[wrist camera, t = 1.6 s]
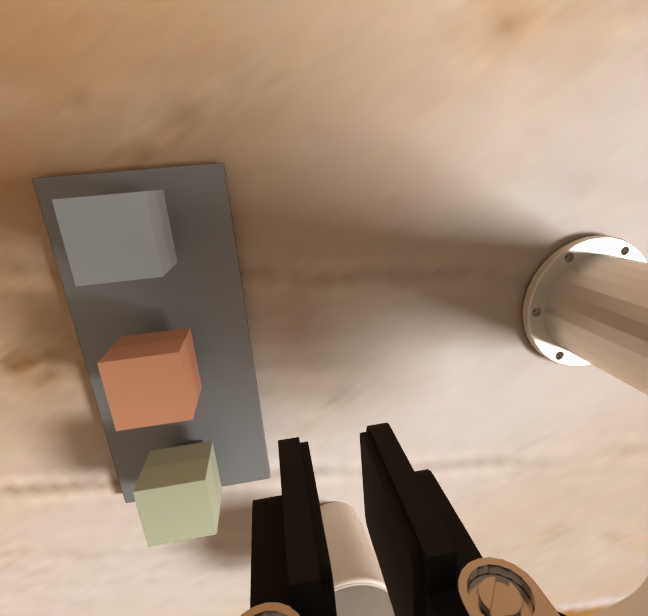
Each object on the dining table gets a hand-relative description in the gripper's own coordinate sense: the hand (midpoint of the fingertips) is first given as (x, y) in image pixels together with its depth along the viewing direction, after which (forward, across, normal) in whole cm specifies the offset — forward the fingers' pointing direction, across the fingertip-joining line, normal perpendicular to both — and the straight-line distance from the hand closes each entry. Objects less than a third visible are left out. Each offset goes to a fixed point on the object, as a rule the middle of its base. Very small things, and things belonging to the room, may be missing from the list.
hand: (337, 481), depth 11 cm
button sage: (+22, +10, +15) cm, 28 cm away
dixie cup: (+25, -2, +27) cm, 37 cm away
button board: (+25, +10, +5) cm, 27 cm away
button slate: (+22, +10, -5) cm, 24 cm away
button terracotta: (+22, +10, +5) cm, 24 cm away
